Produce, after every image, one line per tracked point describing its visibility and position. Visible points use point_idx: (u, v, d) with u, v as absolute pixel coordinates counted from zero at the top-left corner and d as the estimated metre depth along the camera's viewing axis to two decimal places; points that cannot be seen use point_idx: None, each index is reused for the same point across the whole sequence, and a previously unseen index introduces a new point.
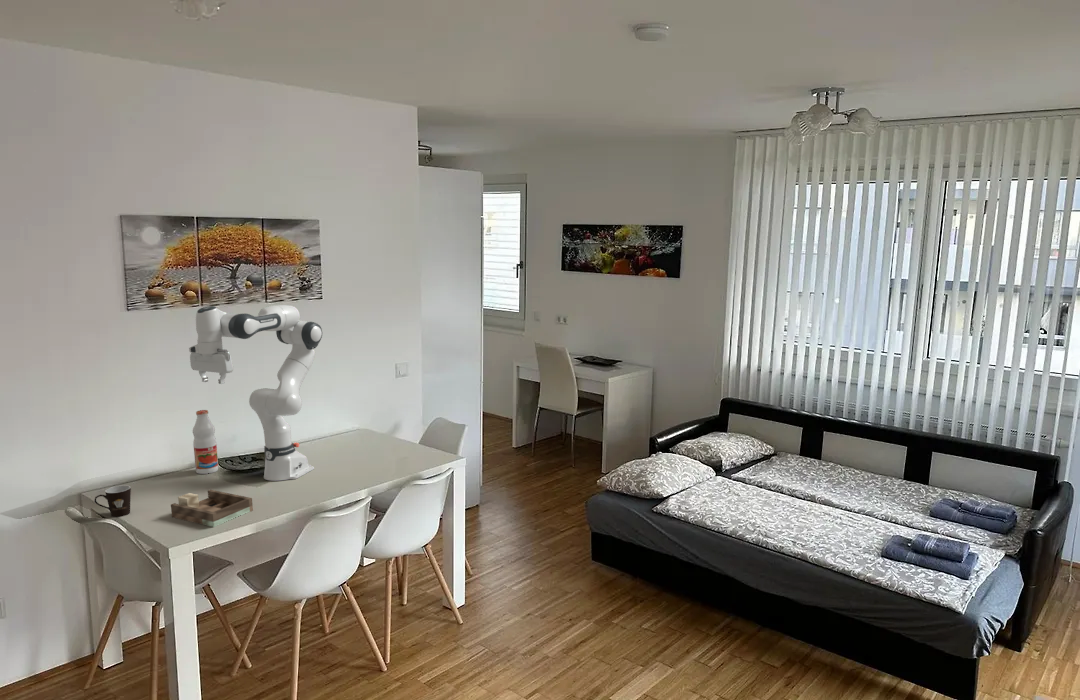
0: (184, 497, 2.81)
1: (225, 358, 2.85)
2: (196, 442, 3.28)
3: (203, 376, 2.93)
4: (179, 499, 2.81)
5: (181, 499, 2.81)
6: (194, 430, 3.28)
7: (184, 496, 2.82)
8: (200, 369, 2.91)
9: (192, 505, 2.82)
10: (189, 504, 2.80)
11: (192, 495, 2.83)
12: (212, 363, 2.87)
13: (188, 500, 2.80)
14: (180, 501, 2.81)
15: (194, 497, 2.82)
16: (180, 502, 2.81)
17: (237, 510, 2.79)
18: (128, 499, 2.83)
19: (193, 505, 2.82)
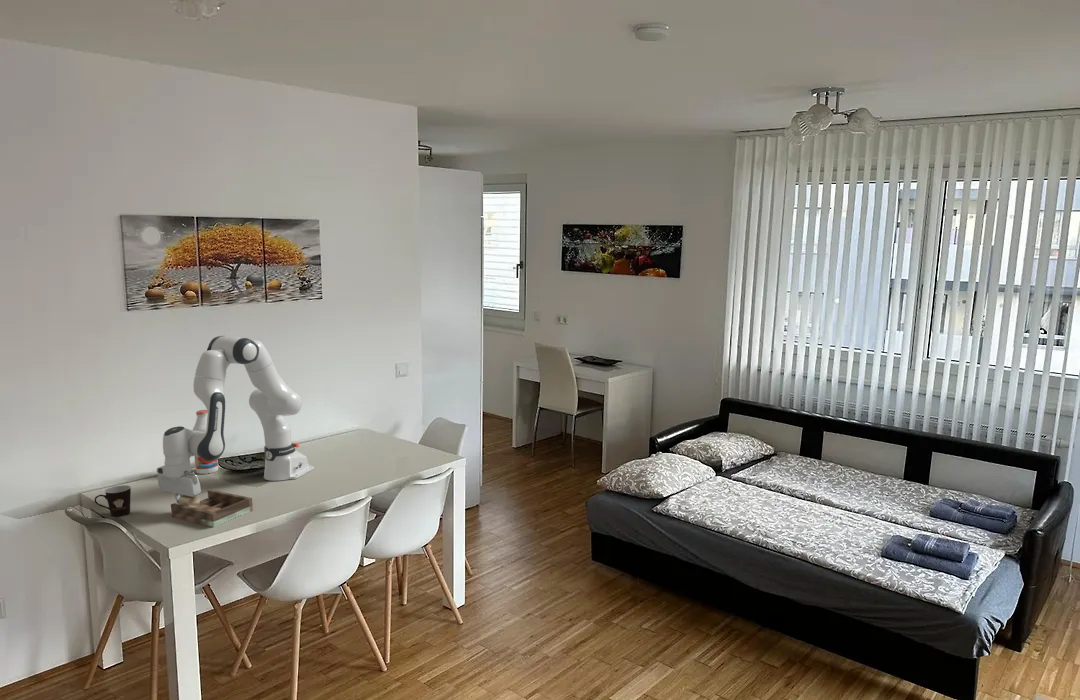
0: (185, 497, 2.81)
1: (192, 482, 2.78)
2: None
3: (178, 498, 2.85)
4: (180, 499, 2.81)
5: (182, 499, 2.80)
6: (194, 430, 3.28)
7: (185, 496, 2.82)
8: (168, 490, 2.85)
9: (193, 505, 2.81)
10: (189, 504, 2.80)
11: None
12: (179, 485, 2.81)
13: (189, 500, 2.80)
14: (181, 501, 2.81)
15: (195, 497, 2.82)
16: (181, 502, 2.81)
17: (237, 510, 2.79)
18: (128, 499, 2.83)
19: (193, 505, 2.82)
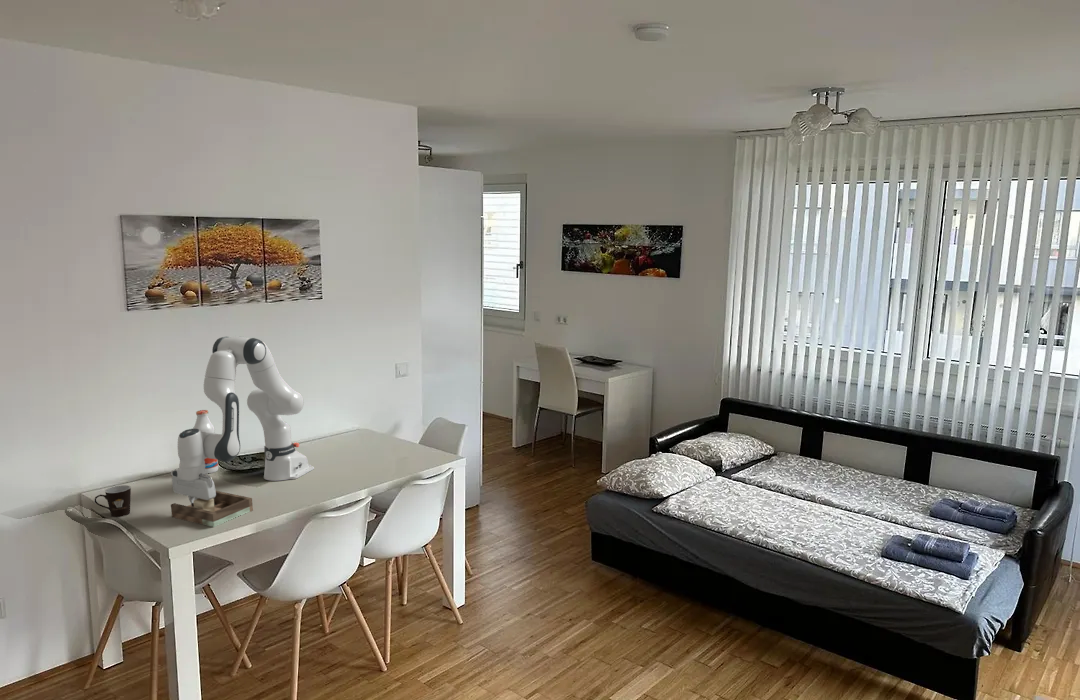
0: (200, 501, 2.76)
1: (207, 485, 2.74)
2: None
3: (192, 501, 2.81)
4: (194, 503, 2.77)
5: (196, 503, 2.76)
6: None
7: (199, 500, 2.78)
8: (182, 493, 2.81)
9: (207, 509, 2.77)
10: (204, 508, 2.76)
11: None
12: (194, 488, 2.77)
13: (203, 504, 2.75)
14: (195, 505, 2.77)
15: (209, 501, 2.78)
16: (195, 506, 2.77)
17: (237, 510, 2.79)
18: (128, 499, 2.83)
19: (208, 509, 2.77)
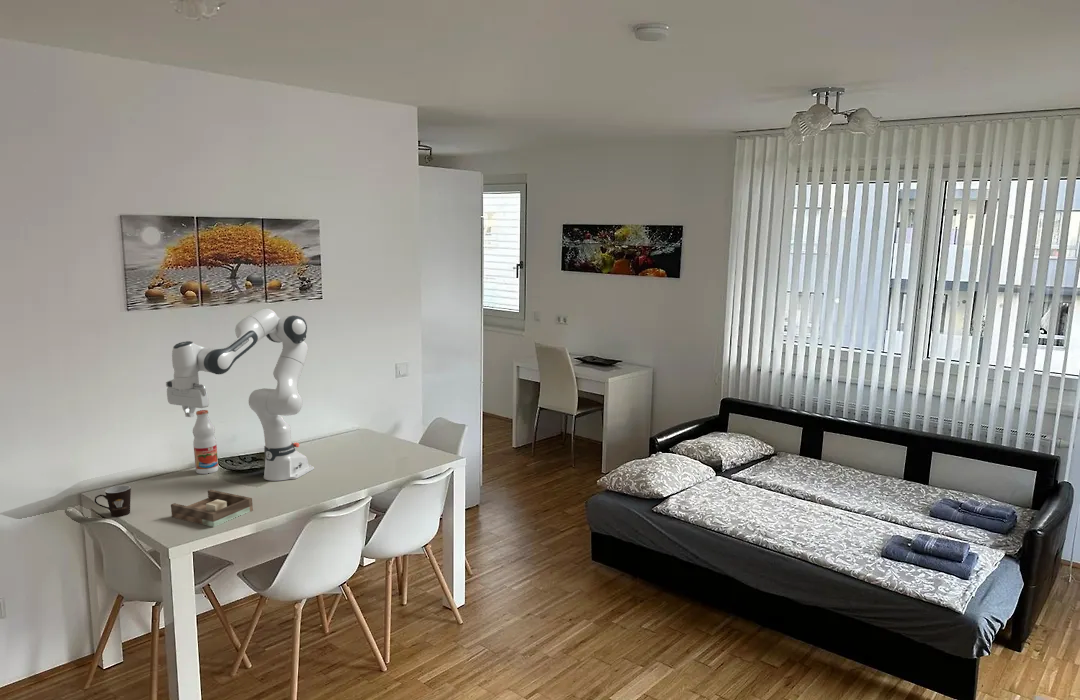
0: (212, 504, 2.74)
1: (201, 393, 2.87)
2: (196, 442, 3.28)
3: (186, 411, 2.94)
4: (207, 506, 2.74)
5: (209, 506, 2.73)
6: (194, 430, 3.28)
7: (212, 503, 2.75)
8: (177, 403, 2.94)
9: None
10: None
11: (220, 502, 2.76)
12: (188, 398, 2.90)
13: (216, 507, 2.72)
14: (208, 508, 2.74)
15: (222, 504, 2.75)
16: (208, 509, 2.74)
17: (237, 510, 2.79)
18: (128, 499, 2.83)
19: None
